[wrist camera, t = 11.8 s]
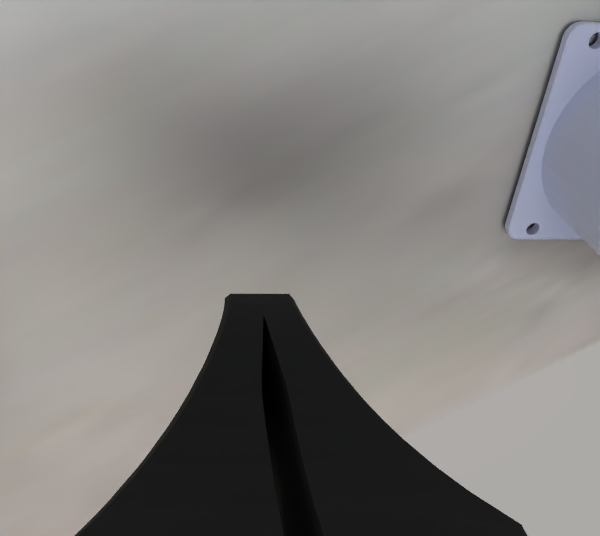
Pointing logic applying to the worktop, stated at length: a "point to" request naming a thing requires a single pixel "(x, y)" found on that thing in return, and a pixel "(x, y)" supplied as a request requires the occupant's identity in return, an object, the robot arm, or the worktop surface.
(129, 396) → the worktop surface
